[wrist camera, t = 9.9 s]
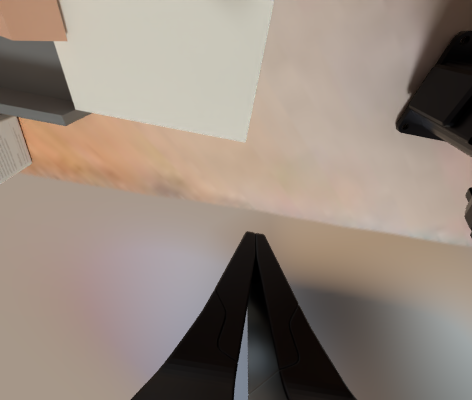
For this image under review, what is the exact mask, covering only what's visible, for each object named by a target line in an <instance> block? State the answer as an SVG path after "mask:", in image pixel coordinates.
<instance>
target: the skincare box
mask: <svg viewBox="0 0 472 400" xmlns="http://www.w3.org/2000/svg"><path fill="white" fill-rule="evenodd" d="M31 164H32V161H31V158H30V155H29V152H28V149H27V146H26V143H25V140H24V137H23V134H22V131H21V128H20V125H19V122H18V119H17V117H16V116H11V115H6V114H0V184H1V183H3V182H4V181H6V180H7V179H9V178H10V177H12V176H14V175H15V174H17V173H18V172H20V171H21V170H23V169H25V168H26V167H28V166H29V165H31Z"/></svg>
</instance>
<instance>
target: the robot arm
mask: <svg viewBox="0 0 472 400" xmlns="http://www.w3.org/2000/svg"><path fill="white" fill-rule="evenodd" d="M463 37H465V40H464V42H463V43H462V44H461V45H460V41H461V39H462V38H463ZM406 123H407V124H406ZM404 124H406V126H405V127H403V128H402V126H403V125H404ZM396 129H397V130H398V131H399V132H401V133H406V134H411V135H416V136H421V137H426V138H431V139H436V140H441V141H446V142H448V143H449V144H451V145H453V146H454V147H456V148H457V149H459V150H461V151H462V152H464V153H466V154H467V155H469V156H470V157H472V31H462V32H460V33H458V34H457V35H456V36H455V37H454V38H453V39H452V41H451V42H450V44H449V46H448V47H447V49H446V50H445V52H444V53H443V55H442V56H441V58H440V59H439V61H438V62H437V64H436V65H435V67H433V68H432V70H431V71H430V73H429V74H428V76H427V77H426V79H425V80H424V82H423V83H422V85H421V86H420V88H419V89H418V91H417V92H416V94H415V95H414V97H413V99H412V100H411V102H410V103H409V106H408V108H407V109H406V111H405V112H404V114H403V115H402V117H401V118H400V120H399V121H398V123H397V125H396ZM466 198H467V200H468V202H469V203H468V205H467V207H466V211H465V216H464V217H465V219H466V221H467V223H468V225H469V228H470V229H471V231H472V187H471V188H469V189H468V191H467V193H466ZM470 236H471V238H472V232H471V234H470ZM247 310H248V394H249V395H248V400H357V399H356V398H355V397H354V395H353V394H352V393H351V391H350V390H349V389H348V387H347V386H346V384H345V383H344V381H343V379H342V378H341V376H340V375H339V373H338V372H337V370H336V368H335V366H334V365H333V363H332V362H331V360H330V359H329V357H328V355H327V354H326V352H325V350H324V349H323V347H322V345H321V344H320V342H319V341H318V339H317V337H316V335H315V334H314V332H313V330H312V329H311V327H310V325H309V323H308V321H307V319H306V317H305V315H304V313H303V311H302V309H301V307H300V306H299V305H298V301H297V300H296V297H295V295H294V293H293V291H292V289H291V288H290V285H289V284H288V281H287V279H286V277H285V275H284V273H283V271H282V269H281V268H280V265H279V263H278V261H277V259H276V257H275V255H274V253H273V251H272V249H271V247H270V245H269V243H268V241H267V239H266V237H265V235H264V234H259V233H256V234H255V233H253V232H248V231H247V232H246V233H245V235H244V236H243V238H242V240H241V242H240V244H239V246H238V247H237V249H236V251H235V253H234V255H233V257H232V258H231V260H230V262H229V264H228V266H227V268H226V269H225V271H224V273H223V275H222V277H221V278H220V280H219V282H218V284H217V286H216V288H215V290H214V291H213V293H212V295H211V297H210V299H209V300H208V302H207V303H206V305H205V307H204V309H203V311H202V312H201V313H200V315H199V316H198V318H197V319H196V321H195V322H194V323H193V325H192V326H191V328H190V329H189V330H188V332H187V333H186V334H185V336H184V337H183V339H182V340H181V341H180V343H179V344H178V345H177V347H176V348H175V349H174V351H173V352H172V354H171V355H170V356H169V358H168V359H167V360H166V361H165V363H164V364H163V365H162V366H161V368H160V369H159V370H158V371H157V372H156V373H155V374H154V376H153V377H152V378H151V379H150V380H149V381H148V382H147V383H146V384H145V385H144V386H143V387H142V388H141V389H140V390H139V391H138V392H137V393H136V395H135V396H134V397H133V398H132V399H131V400H234V388H235V379H236V371H237V365H238V364H237V363H238V360H239V354H240V348H241V341H242V336H243V330H244V323H245V317H246V311H247Z"/></svg>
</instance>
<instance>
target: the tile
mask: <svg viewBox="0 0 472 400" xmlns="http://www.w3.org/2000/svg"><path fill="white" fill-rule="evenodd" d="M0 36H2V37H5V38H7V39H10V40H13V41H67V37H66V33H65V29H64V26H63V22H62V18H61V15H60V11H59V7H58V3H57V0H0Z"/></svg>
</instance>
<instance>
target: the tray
mask: <svg viewBox="0 0 472 400" xmlns="http://www.w3.org/2000/svg"><path fill="white" fill-rule="evenodd" d="M0 114H6V115H11V116H16V117H21V118H27V119H32V120H37V121H42V122H47V123H53V124H58V125H63V126H67V125H69V124H71V123H73V122H75V121H77V120H79V119H81V118H83V117H85V116H87V115H89V114H91V113H90V112H85V111H80V110H76V109H75V106H74V103H73V100H72V97H71V94H70V91H69V88H68V84H67V81H66V78H65V75H64V72H63V69H62V66H61V63H60V60H59V57H58V53H57V50H56V47H55V44H54V41H13V40H10V39H7V38H5V37H2V36H0Z"/></svg>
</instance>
